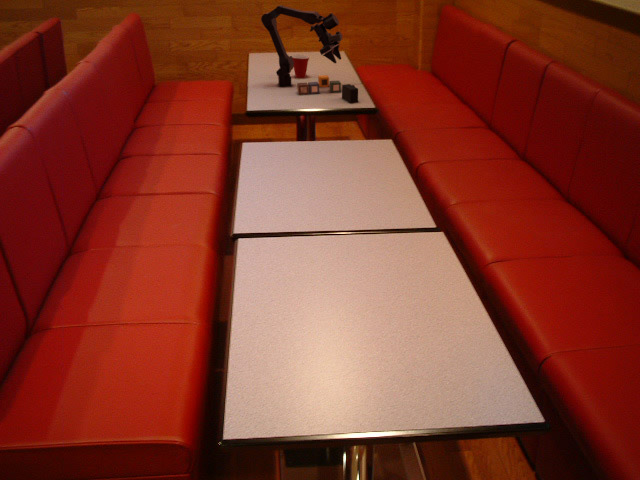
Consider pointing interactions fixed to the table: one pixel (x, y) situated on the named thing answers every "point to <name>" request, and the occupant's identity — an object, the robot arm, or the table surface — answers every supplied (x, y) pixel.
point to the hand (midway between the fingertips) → (338, 61)
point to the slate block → (313, 87)
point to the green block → (335, 86)
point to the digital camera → (350, 93)
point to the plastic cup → (300, 65)
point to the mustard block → (323, 81)
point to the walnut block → (302, 88)
